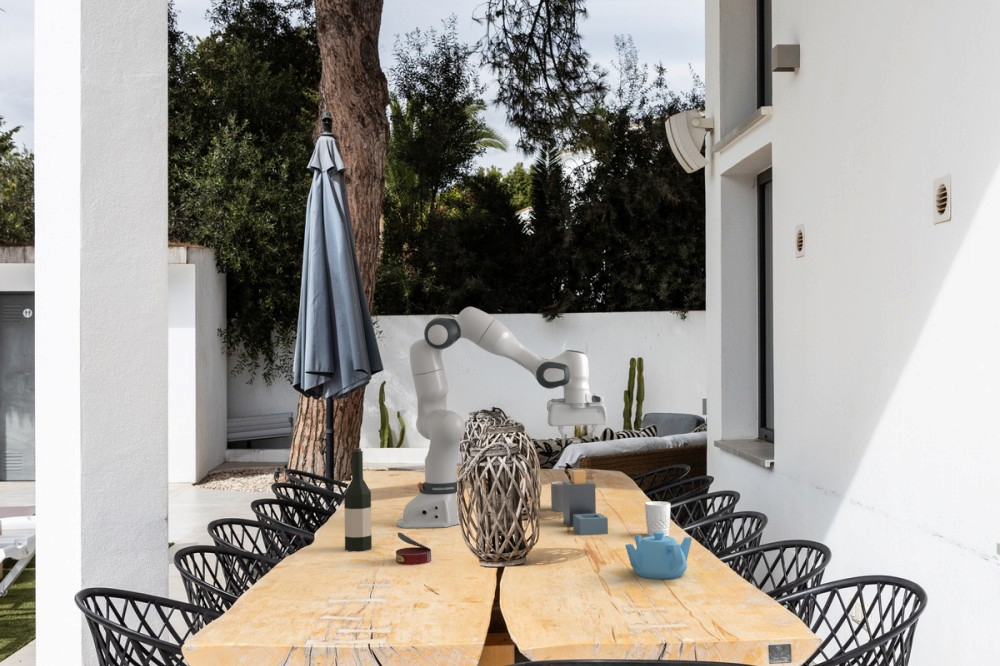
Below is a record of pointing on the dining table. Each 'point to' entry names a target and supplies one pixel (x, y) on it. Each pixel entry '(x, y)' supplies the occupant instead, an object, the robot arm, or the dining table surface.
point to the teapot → (659, 556)
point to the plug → (578, 476)
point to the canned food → (412, 553)
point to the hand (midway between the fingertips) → (577, 438)
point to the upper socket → (578, 500)
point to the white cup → (657, 517)
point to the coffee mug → (557, 496)
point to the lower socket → (590, 524)
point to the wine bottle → (357, 508)
